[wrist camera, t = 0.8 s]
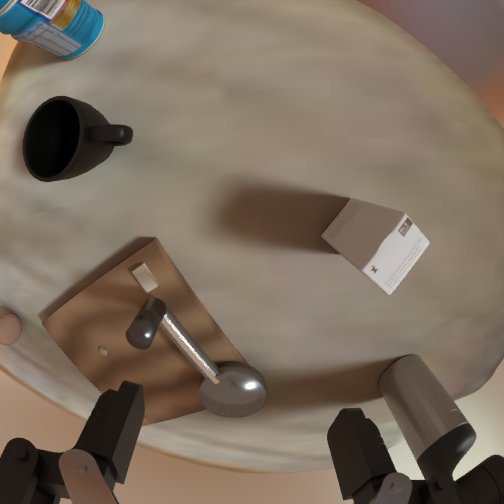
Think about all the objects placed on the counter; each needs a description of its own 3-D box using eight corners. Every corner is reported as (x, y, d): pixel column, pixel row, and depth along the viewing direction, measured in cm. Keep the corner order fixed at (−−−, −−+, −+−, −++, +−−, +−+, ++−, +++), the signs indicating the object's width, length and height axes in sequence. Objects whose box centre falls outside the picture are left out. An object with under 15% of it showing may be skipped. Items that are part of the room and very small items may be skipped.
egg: (22, 309, 34) (0, 329, 27) (30, 334, 35) (11, 355, 29) (6, 305, 33) (-16, 322, 27) (14, 329, 35) (-6, 348, 28)
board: (261, 379, 38) (262, 393, 35) (142, 419, 41) (138, 430, 38) (156, 237, 31) (148, 244, 28) (47, 316, 34) (38, 326, 31)
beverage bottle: (61, 72, 23) (-44, 38, 4) (53, 35, 21) (-33, -5, 2) (112, 36, 23) (22, -34, 3) (101, 2, 20) (28, -64, 1)
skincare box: (343, 256, 32) (390, 302, 21) (317, 234, 31) (357, 273, 20) (374, 217, 31) (433, 245, 19) (349, 193, 30) (405, 211, 18)
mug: (150, 178, 29) (114, 185, 20) (68, 174, 28) (19, 182, 19) (160, 108, 26) (128, 87, 17) (75, 111, 25) (28, 101, 16)
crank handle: (276, 392, 36) (282, 436, 28) (223, 411, 37) (221, 454, 29) (184, 271, 30) (166, 308, 22) (127, 305, 31) (100, 343, 23)
